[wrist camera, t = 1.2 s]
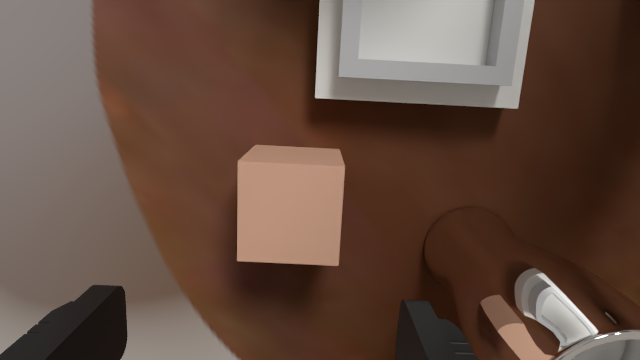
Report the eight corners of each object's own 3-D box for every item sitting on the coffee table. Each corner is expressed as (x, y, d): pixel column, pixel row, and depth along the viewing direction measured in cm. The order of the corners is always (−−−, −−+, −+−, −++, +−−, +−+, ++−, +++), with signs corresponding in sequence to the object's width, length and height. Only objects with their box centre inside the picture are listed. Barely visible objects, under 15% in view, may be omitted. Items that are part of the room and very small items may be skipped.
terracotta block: (339, 148, 27) (344, 166, 21) (334, 228, 29) (338, 265, 23) (255, 144, 27) (238, 161, 21) (254, 224, 28) (237, 261, 23)
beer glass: (403, 220, 28) (493, 364, 14) (503, 185, 28) (708, 297, 13) (433, 307, 30) (543, 522, 15) (529, 276, 29) (738, 467, 15)
